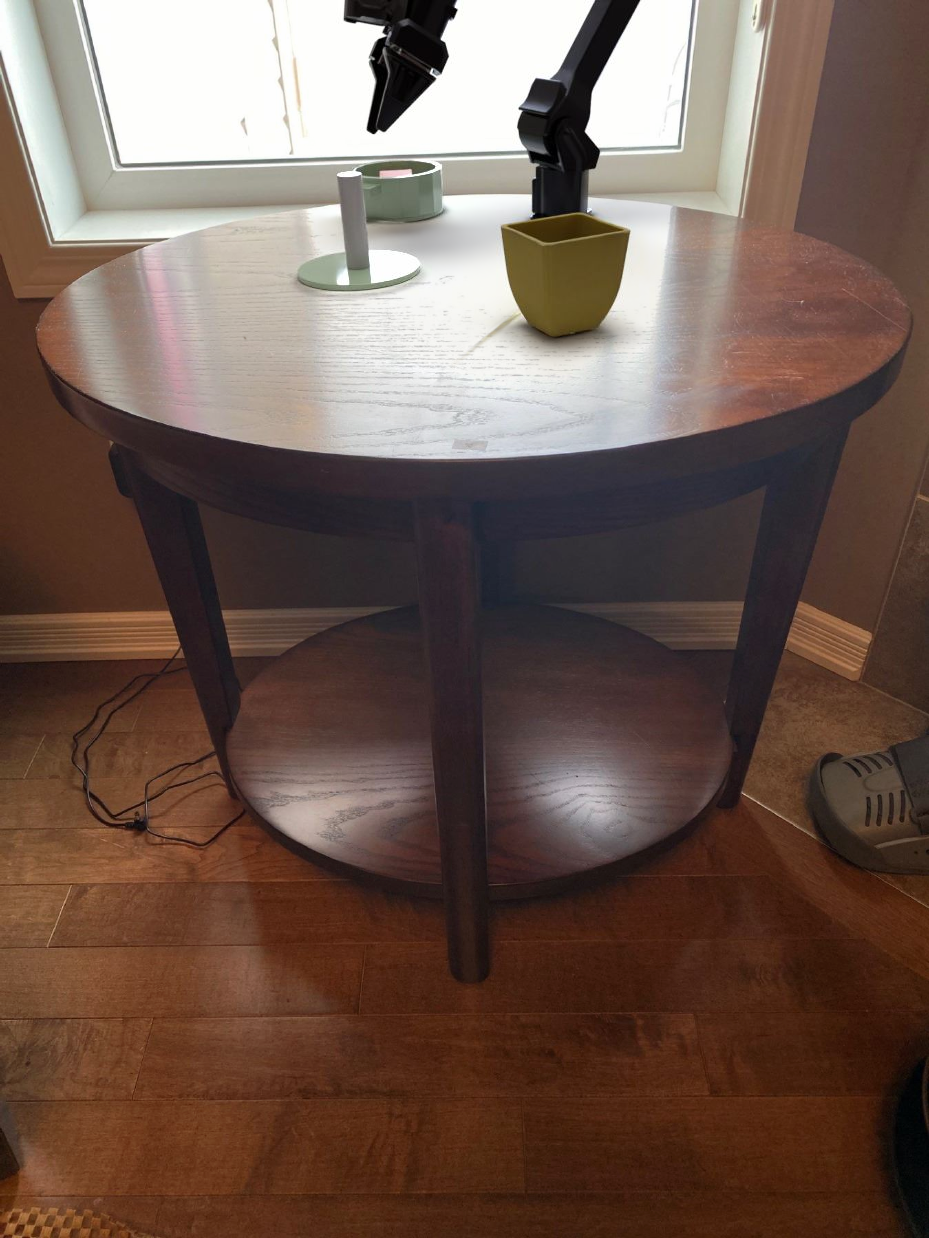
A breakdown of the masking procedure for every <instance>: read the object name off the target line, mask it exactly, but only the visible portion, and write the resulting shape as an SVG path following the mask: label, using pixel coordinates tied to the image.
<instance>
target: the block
mask: <svg viewBox="0 0 929 1238" xmlns="http://www.w3.org/2000/svg"><path fill="white" fill-rule="evenodd" d="M409 175H412V171H411V169H409V170H391V171H380V177H400V176H409Z"/></svg>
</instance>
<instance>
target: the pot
mask: <svg viewBox="0 0 929 1238" xmlns="http://www.w3.org/2000/svg"><path fill="white" fill-rule="evenodd" d="M409 169H411V171H412V175H409V176H400V177H380V171H391V170H409ZM347 172H360V173H361V174H362V184H363V194H364V204H365V215H366V220H370V221H382V222H396V223H410V222H411V223H412V222H417V221H422V220H427V219H430V218H434V217H437V216H438V215H440V214H442V213H443V212H444V206H445V205H444V204H445V202H444V201H445V199H444V183H443V181H444V180H443V179H444V178H443V165H442V164H440V163H439V162H437V161H431V160H425V159H411V158H410V159H406V158H405V159H386V160H377V161H370V162H367V163H362V164H358V165H355V166H353V167H350V168H349V170H348V171H347Z"/></svg>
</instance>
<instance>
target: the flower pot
mask: <svg viewBox="0 0 929 1238" xmlns="http://www.w3.org/2000/svg"><path fill="white" fill-rule="evenodd" d="M500 232H501V240H502V249H503V255H504V263H505V268H506V269H505V270H506V276H507V281H508V285H509V288H510V291H511V294H512V296H513V299H514V302H515V303H516V305H517V307H518V309H519V311H520V312H521V314H522V316H523V318H524V320H525V321H526V323H527V324H528V325H530V326H533V327H534V328H536V329H537V330H540V331H541V332H543V333H545V334H546V335H547V336H549V337H554V338H555V337H560V336H565V335H570V334H575V333H579V332H583V331H590V330H595V329H598V328H599V326H600V325H601V324H602V322H603V321H604V320H605V319H606V317H607V316H608V314H609V313H610V311H611V309H612V307H613V306H614V303H615V301H616V299H617V297H618V294H619V291H620V289H621V285H622V280H623V275H624V271H625V265H626V258H627V254H628V253H627V252H628V247H629V243H630V242H629V241H630V235H631V229H629V228H627V227H625V226H621V225H617V224H615V223H612V222H609V221H606V220H603V219H600V218H598V217H595V216H593V215H591V214H589V215H588V214H584V213H572V214H566V215H560V216H554V217H547V218H541V219H535V220H530V219H529V220H523V221H516V222H510V223H504V224H500Z"/></svg>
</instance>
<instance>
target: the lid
mask: <svg viewBox="0 0 929 1238" xmlns="http://www.w3.org/2000/svg"><path fill="white" fill-rule="evenodd" d="M336 181H337V189H338V198H339V199H338V200H339V208H340V216H341V226H342V235H343V242H344V243H343V244H344V251H340V252H334V253H330V254H326V255H322V256H318V257H315V258H312V259H310V260H307V261H305V262H304V263H302V264H301V265H300V266H299V267H298V269H297V278H298V281H300V282H301V283H302V284H304V285H306V286H309V287H312V288H315V289H321V290H326V291H327V290H329V291H346V292H347V291H349V292H350V291H364V290H365V291H366V290H373V289H380V288H386V287H390V286H394V285H398V284H401V283H403V282H406V281H409V280H411V279H413V278H414V277H415V276H417V275H418V274H419V272H420V271H421V263H420V261H419V259H418V258H417V257H415V256H413V255H412V254H409V253H404V252H401V251H394V250H386V249H385V250H384V249H370V248H369V247H370V246H369V238H368V236H369V235H368V226H367V219H366V215H365V204H364V194H363V184H362V174H361V173H360V172H348V171H344V172H339V173H337V175H336Z"/></svg>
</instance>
